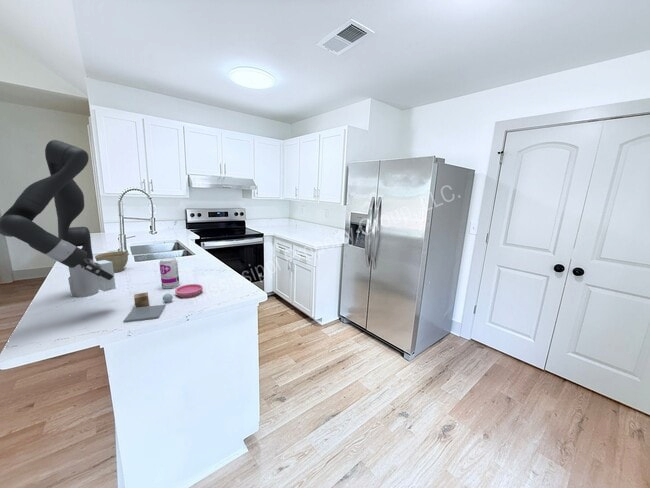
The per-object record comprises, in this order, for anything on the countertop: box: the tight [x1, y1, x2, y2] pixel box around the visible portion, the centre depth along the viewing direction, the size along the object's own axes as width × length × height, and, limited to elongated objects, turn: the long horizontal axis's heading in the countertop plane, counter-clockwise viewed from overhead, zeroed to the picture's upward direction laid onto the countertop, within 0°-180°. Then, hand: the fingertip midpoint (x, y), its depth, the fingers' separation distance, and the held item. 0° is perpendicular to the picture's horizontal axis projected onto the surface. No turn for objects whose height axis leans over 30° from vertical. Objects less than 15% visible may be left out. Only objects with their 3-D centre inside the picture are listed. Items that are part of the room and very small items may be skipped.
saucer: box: [174, 283, 204, 298], centre depth 133 cm, size 12×12×3 cm
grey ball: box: [162, 293, 174, 303], centre depth 122 cm, size 4×4×4 cm
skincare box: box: [94, 260, 117, 292], centre depth 110 cm, size 6×4×12 cm
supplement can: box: [159, 257, 180, 289], centre depth 141 cm, size 8×8×15 cm
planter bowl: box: [94, 251, 129, 273], centre depth 164 cm, size 16×16×11 cm
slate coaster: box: [123, 304, 166, 323], centre depth 111 cm, size 12×12×1 cm
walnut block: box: [133, 291, 150, 308], centre depth 118 cm, size 5×5×5 cm
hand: (109, 275), depth 111 cm, fingers closed on skincare box, 7 cm apart
